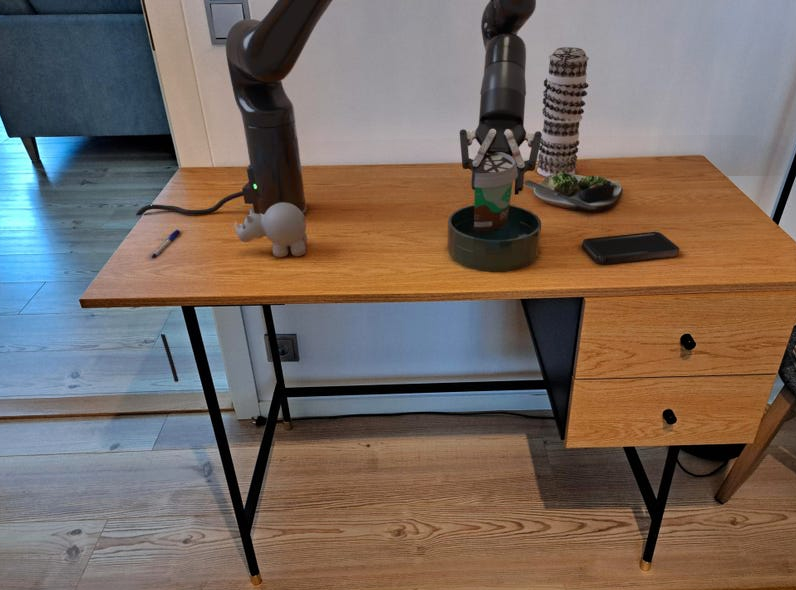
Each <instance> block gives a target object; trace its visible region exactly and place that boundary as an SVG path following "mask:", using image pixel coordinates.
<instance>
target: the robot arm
mask: <svg viewBox="0 0 796 590" xmlns="http://www.w3.org/2000/svg"><path fill="white" fill-rule="evenodd" d="M333 1H334V0H276V2H275V3H274V5H273V6H272V8H270V10H269V12H268V13H267V14H266V15H265V16H264V17H263V18H262V20H257V19H254V18H244V19H241V20H239V21H237V22H236V23H234V24H233V25H232V26H231V27H230V29H229V31H228V33H227V35H226V39H225V56H226V62H227V67H228V73H229V77H230V83H231V87H232V92H233V96H234V101H235V103H236V106H237V108H238V110H239V112H240V114H241V115H240V116H241V119H242V123H243V124H242V125H243V131H244V137H245V141H246V142H245V143H246V148H247V155H248V161H249V164H248V165H247V167H246V173H247V181H248V182H247V183H245V185H244V186H243V187H242V188H241V191H237V192H235V193H232V194H229V195H226V196H225V197H223V198H221V199H220V200H219V201H218V202H217V203H216V204H215V205H214V206H212V207H209V208H205V209H187V208H182V207H180V206H177V205H176V206H175V205H165V204H147V205H144V206H142V207H141V208H139V209H138V211H137V212H136V213H135V216H142V215H143V214H144V213H145V212H148V211H150V210H151V211H152V210H161V211H173V212H178V213H180V214H183V215H196V216H197V215H208V214H211V213H214V212H217V211H218V210H219V209H221V208H222V207H223V205H225V204H226V203H228V202H229V201H232V200H235V199H237V198H241V197H243V201H244V204H245V205H252V209H253V211H254V213H255V214H260V215H264V214H265V213H266V211H267V210H268V209H269V208H270V207H271V206H273V205H274V204H277V203H290V204H292V205H294V206H296V207H297V208H299V209H300V210H301V212H302V213H303V215H305V214H306V212H307V211H308V208H307V207H308V206H307V203H306V196H305V186H304V179H303V170H302V164H301V163H302V161H301V154H300V146H299V138H298V131H297V122H296V115H295V107H294V104H293V102H292V101H291V100H290V98H289V96H288V95H287V93H286V91H285V88H284V86H283V80H285V79H286V78H287V77H288V75H289V74H291V72H292V70H293V69H294V67H295V65H296V64H297V62H298V60H299V58H300V56H301V54H302V52H303V50H304V48H305V47H306V45H307V43H308V41H309V40H310V37H311V35H312V33H313V31H314V29H316V26H317V24H318V23H319V21H320V20H321V18H322V17H323V15H324V14H325V12H326V11H327V9H328V8H329V7H330V6H331V4H332V2H333ZM536 7H537V0H489V1H488V3H487V4H486V6H485V7H484V10H483V12H482V15H481V22H480V30H481V36H482V42H483V43H482V44H483V47H484V51H485V54H484V66H483V76H482V81H481V86H480V87H481V88H480V93H479V95H480V100H479V101H480V102H479V103H480V104H479V115H478V116H479V117H478V125H477V127H476V129H475V130H471V131H467V129H464V128H463V129H460V130H459V144H460V155H461V165H462V166H461V167H462V169H464V170H470V171H471V181H470V182H471V184H470V185H471V189H472V191H475V187H474V183H475V173H478V172H479V170H480V166H481V164H482V162H483V160H484V158H485V156H487V153H489V154H494V153H496V152H502V153H505V154H508V155H510V156H511V157H513V159H514V160H515V163H516V165H517V172H518V176H517V178H516V179H515V180H514V191H513V192H514V195H520V194H519V193H520V192H522V191H523V190H524V186H525V184H524V181H525V174H526V173H527V172H534V171H535V169H536V166H537V162H538V156H539V153H540V150H539V148H540V146H541V138H542V131H538V130H537V131H535V132H534V133H532V132H527V131H526V129H525V127H524V124H525V110H526V109H525V107H526V106H525V105H526V95H527V87H526V86H527V84H526V83H527V82H526V68H527V67H526V65H527V47H526V46H527V45H526V44H525V41H524V40H523V38H522V37H521V36H520V35H518V33H519V31H520V30H521V29H522V27H524V25H525V24H526V23H527V22H528V21H529V19H530V18H531V17H532V16H533V14H534V13H535V11H536ZM474 140H476V141H477V143H478V144H479V146H480V147H479V148H478V150H477V153H476V155H475V156H474V159H472V158H470V154H469V153H470V152H469V147H470V146H472V145H473V141H474ZM525 141H526V142H527V147H529V148H530V152H529V158H528V160H524V159H523V157H522V153H521V150H520V146H521V145H522V144H523V143H524V142H525ZM151 205H152V206H151ZM160 338H161V341H162V344H163V347H164V350H165V354H166V357H167V360H168V363H169V366H170V370H171V374H172V377H173V381H174V383H179V380H180V379H179V377H178V372H177V369H176V367H175V362H174V359H173V356H172V353H171V349H170V346H169V343H168V339H167V337H166V334H165V333H164V334H163V333H160Z"/></svg>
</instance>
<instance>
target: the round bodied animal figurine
mask: <svg viewBox="0 0 796 590" xmlns="http://www.w3.org/2000/svg"><path fill="white" fill-rule="evenodd" d="M233 227H234V229H235V231H236V235H237V237H238V239H239V240H240V241H241V242H243V243H249V242H252V240H254V239H255V240H256V239H257V240H259V239H263V238H264V237H266V238H267V239H268V240H269V241H270V242H271V243H272V254H273V256H274V257H277V258H283V257H286V256H287V255H289V249H290V253H291V254H292V255H293V256H294V257H300V256H303V255H305V254H306V253H307V247H306V245H307V242H308V236H307V233H306V230H307V221H306V216H305V214H303V213H302V212H301V210H300V209H299V208H297V207H296V206H294V205H292V204H290V203H277V204H274V205H273V206H271V207H270V208H269V209H268V210H267V211H266V213H265V214H264V215H260V214H255V213H254V209H253V207H252V208H251V207H249V214H247V215H245V218H244V221H243V224H242V223H240V224H239V225H238V223H237V221H235V222H234V226H233Z"/></svg>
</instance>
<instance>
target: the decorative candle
mask: <svg viewBox="0 0 796 590" xmlns="http://www.w3.org/2000/svg"><path fill="white" fill-rule="evenodd" d="M548 59H549V65H548V66H549V67H548V72H547V76H546V78H545V79H544V80H543V86H544V87H545V89H544V90H543V91H542V93H543V97H544V98H542V104H543V105H544V107H543V108H542V117H541V118H542V119H543V128H542V131H541V133H542V137H541V143H540V147H539V152H538V156H537V169H536V170H537V174H539V175H541V176H542V177H545V178H546V177H547V176H549V175H552V174H558V173H561V172H563V173H568V174H575V175H576V169H577V161H578V155H577V153H579V148H578V146H579V145H580V141H579V138H580V137H579V136H580V130H579V129H580V122H581V121H582V120H583V115H582V114H584V113H585V110H584V109H583V107H585V106H586V102H585V101H584V100H583V98H584V97H586V96H588V92H587V91H586V89H587V88H589V86H590V85H589V84H588V83H587V76H588V74H587V68H588V62H589V60H590V57H588V56H587V53H586V52H585V51H584V50H583V49H582V48H579V47H572V46H565V47H558V48H556V49H555V50H554V51H553V52H552V54H551V55H549V56H548Z"/></svg>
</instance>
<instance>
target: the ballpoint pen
mask: <svg viewBox="0 0 796 590" xmlns="http://www.w3.org/2000/svg"><path fill="white" fill-rule="evenodd" d="M180 233H181V231H180V230H179V229H175V230H174V231H173V232H172V233H171V234H170V235H169V237H168V238H167V239H166V241H164V242H163V244H161V246H159V247H158V249H156V250H155V252H154V253H152V255H151V258H152V259H155V258H156V257H157V256H158V255H159V254H161V252H162V251H163V250H165V248H166V247H167V246H169V244H170V243H172V242H173V241H174V240H175V239H176V238H177V237H178V236H179V234H180Z"/></svg>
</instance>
